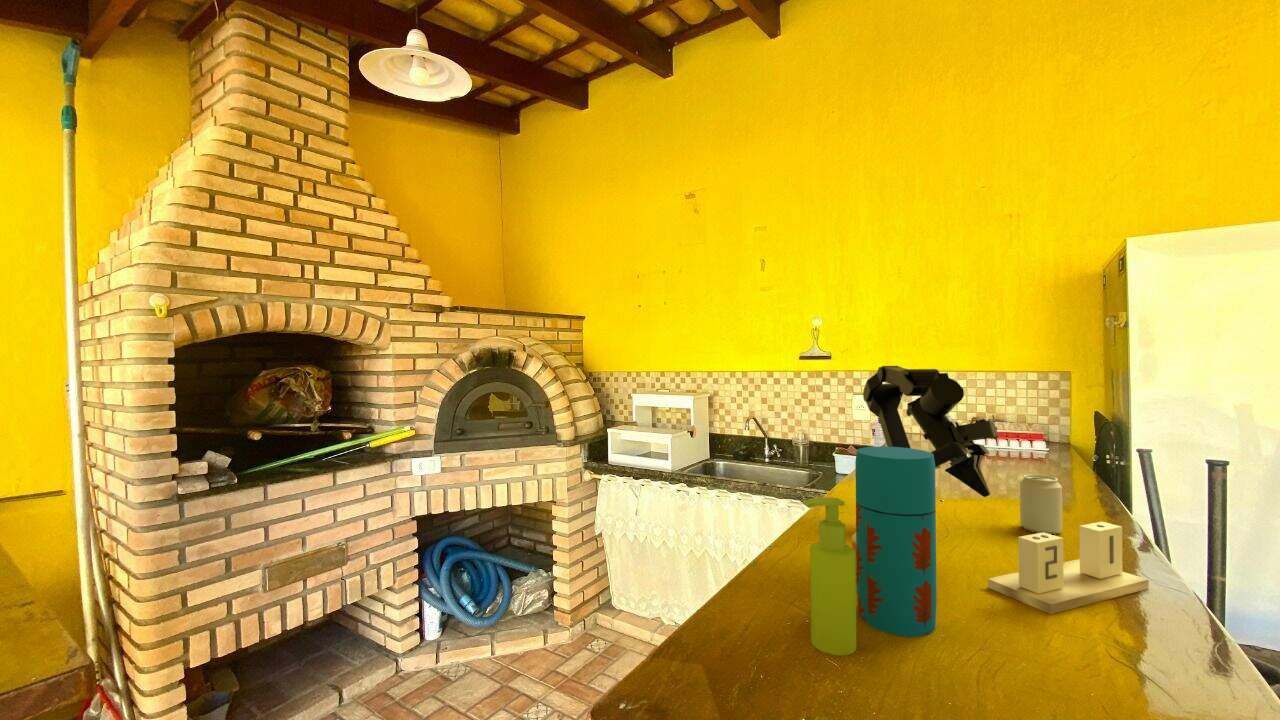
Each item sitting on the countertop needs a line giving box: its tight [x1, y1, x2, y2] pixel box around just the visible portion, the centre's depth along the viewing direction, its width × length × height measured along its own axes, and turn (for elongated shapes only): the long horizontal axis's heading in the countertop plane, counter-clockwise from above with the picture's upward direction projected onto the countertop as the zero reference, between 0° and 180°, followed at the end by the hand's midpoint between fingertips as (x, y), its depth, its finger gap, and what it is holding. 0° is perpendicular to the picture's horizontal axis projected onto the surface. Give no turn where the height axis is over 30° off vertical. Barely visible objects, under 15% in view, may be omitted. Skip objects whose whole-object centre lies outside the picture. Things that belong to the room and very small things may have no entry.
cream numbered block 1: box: [1078, 521, 1124, 579], centre depth 91 cm, size 3×6×8 cm, turn 110°
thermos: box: [854, 446, 938, 638], centre depth 80 cm, size 11×11×25 cm
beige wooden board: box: [987, 558, 1150, 615], centre depth 89 cm, size 10×24×2 cm, turn 110°
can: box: [1019, 473, 1063, 535], centre depth 118 cm, size 8×8×12 cm
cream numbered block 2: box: [1017, 532, 1064, 594], centre depth 86 cm, size 3×6×8 cm, turn 110°
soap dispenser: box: [801, 496, 857, 656], centre depth 73 cm, size 6×7×20 cm
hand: (987, 495), depth 100 cm, fingers closed
